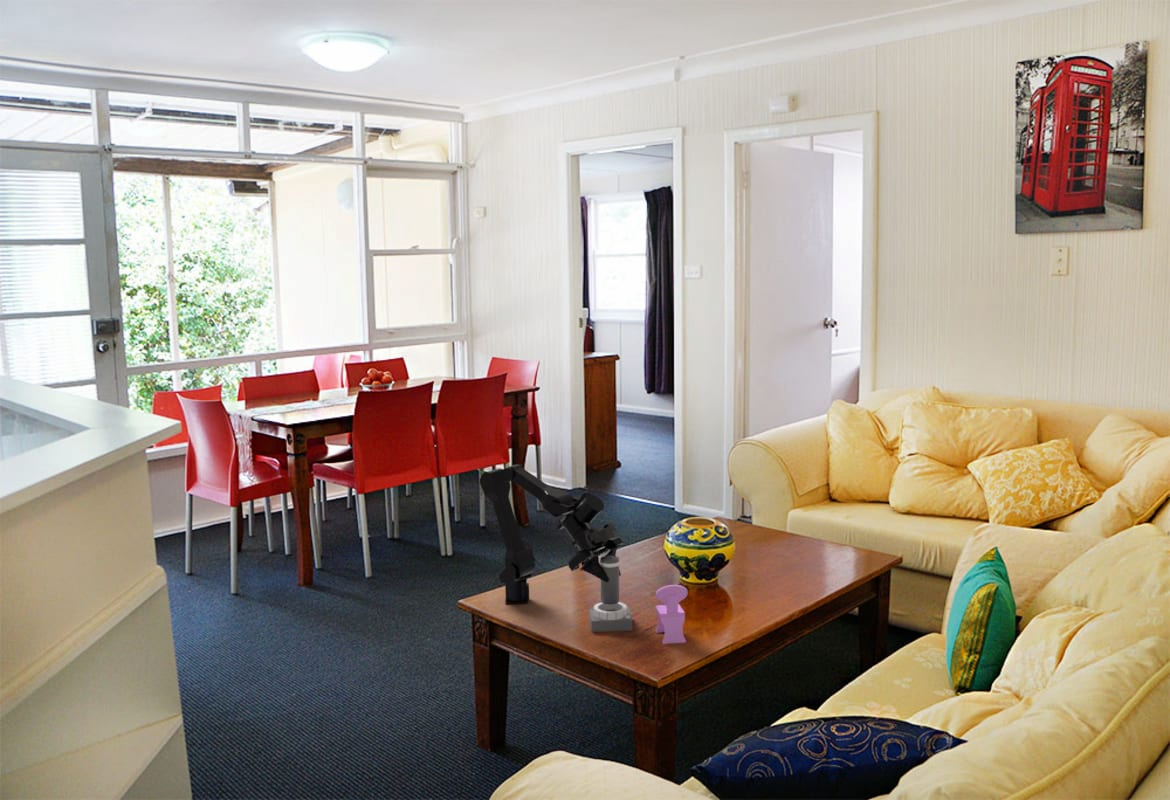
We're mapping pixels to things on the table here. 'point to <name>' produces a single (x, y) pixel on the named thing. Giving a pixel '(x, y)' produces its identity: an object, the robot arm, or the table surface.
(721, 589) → the table surface
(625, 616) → the ringed square flange
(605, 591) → the grey domed cylinder
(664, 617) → the toy chair
